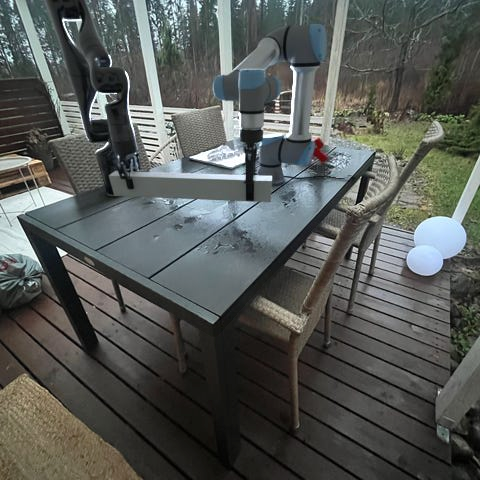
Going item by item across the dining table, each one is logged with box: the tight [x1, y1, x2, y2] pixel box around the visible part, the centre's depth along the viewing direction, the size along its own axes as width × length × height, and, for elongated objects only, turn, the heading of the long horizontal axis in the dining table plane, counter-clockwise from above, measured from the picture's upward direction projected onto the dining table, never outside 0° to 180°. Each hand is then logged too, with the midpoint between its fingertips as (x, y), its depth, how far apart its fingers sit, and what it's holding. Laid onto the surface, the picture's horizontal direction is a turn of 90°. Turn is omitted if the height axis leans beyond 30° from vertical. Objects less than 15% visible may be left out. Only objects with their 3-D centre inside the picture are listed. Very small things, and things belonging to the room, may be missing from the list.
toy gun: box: [311, 136, 329, 165], centre depth 169 cm, size 18×4×15 cm
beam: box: [109, 171, 273, 203], centre depth 97 cm, size 57×5×8 cm, turn 84°
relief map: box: [189, 144, 258, 170], centre depth 177 cm, size 27×35×5 cm
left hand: (134, 185), depth 99 cm, fingers closed on beam, 5 cm apart
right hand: (250, 196), depth 97 cm, fingers closed on beam, 5 cm apart
